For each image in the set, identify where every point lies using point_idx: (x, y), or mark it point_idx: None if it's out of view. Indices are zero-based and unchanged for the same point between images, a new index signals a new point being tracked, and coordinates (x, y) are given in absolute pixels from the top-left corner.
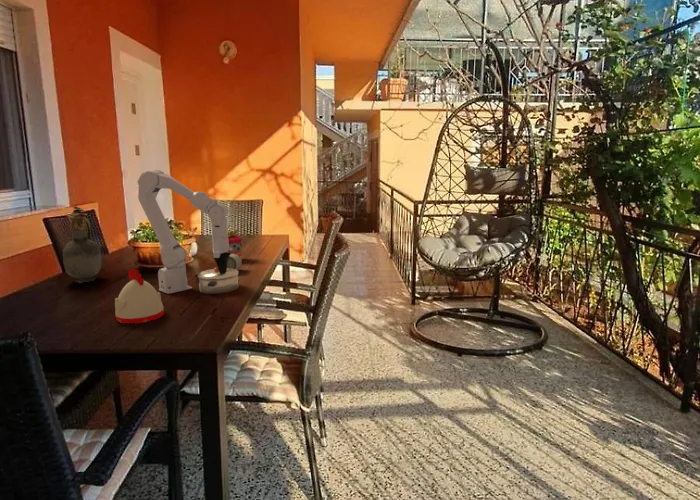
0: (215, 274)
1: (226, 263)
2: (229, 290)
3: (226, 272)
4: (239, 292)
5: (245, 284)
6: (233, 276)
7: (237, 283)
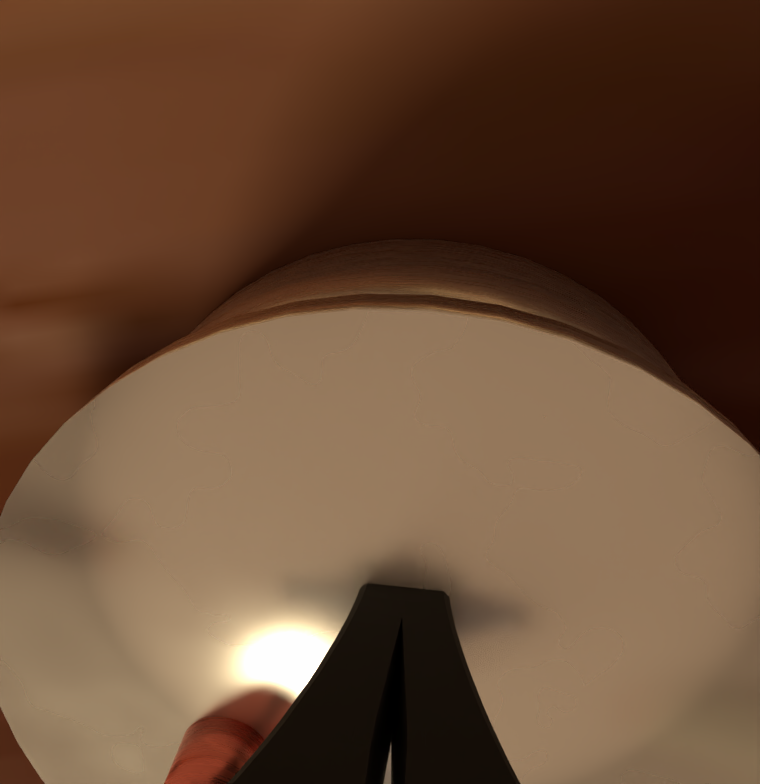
0: (537, 748)
1: (431, 765)
2: (661, 357)
3: (396, 573)
4: (755, 167)
5: (211, 132)
6: (667, 376)
7: (452, 261)
